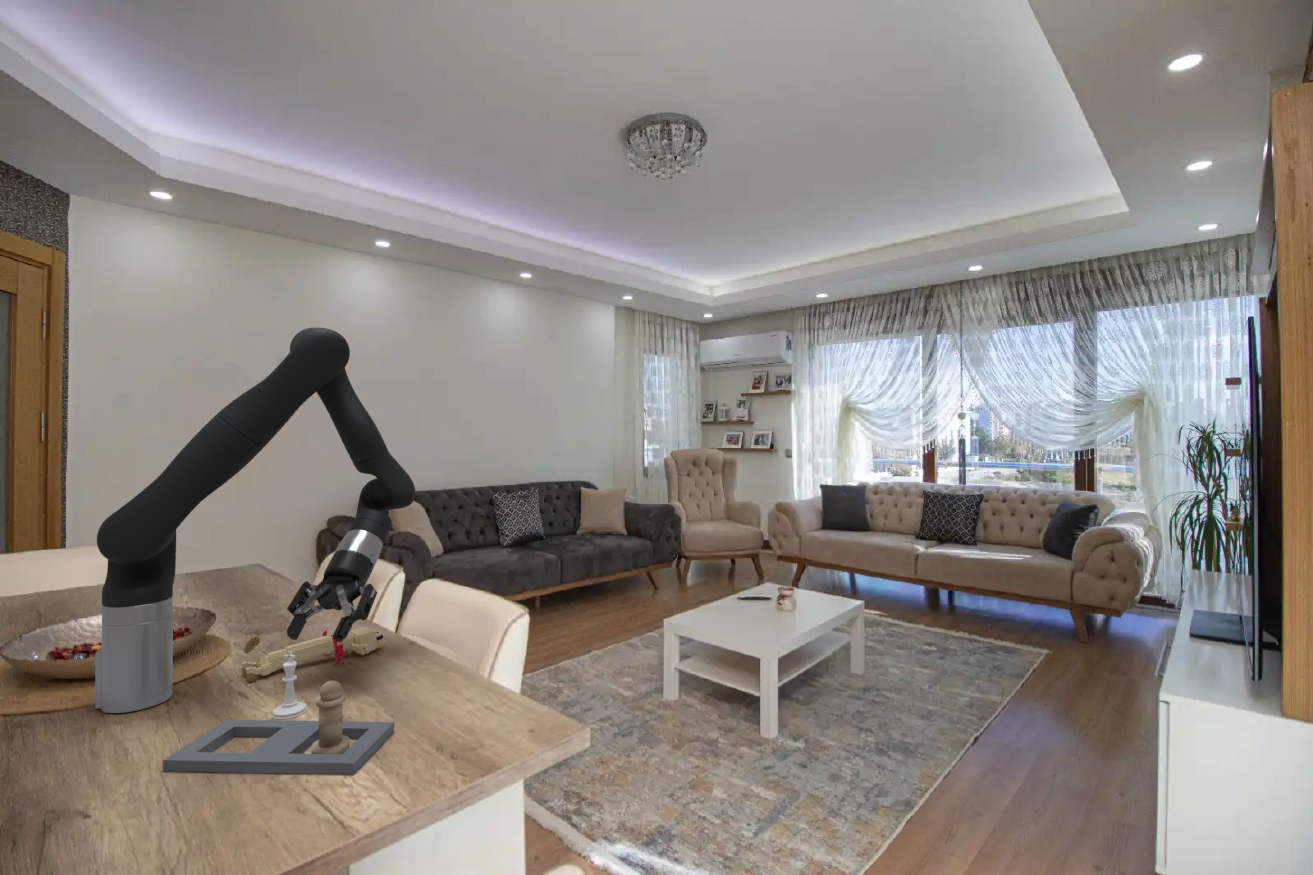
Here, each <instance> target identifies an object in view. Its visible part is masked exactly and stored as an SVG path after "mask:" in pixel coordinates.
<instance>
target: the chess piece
mask: <svg viewBox="0 0 1313 875" xmlns="http://www.w3.org/2000/svg"><path fill="white" fill-rule="evenodd" d="M284 658H288V662H286V663H284V664H283V668H282V669H283V671H284V673H285V676H283V677H282V679H281V681H282V682H286V684H285V691H284V698H283V702H281V704H280V705H278V706H276V707H275V708H273V710H272V712H271V713H272V715H271V717H272V719H273V720H274V719H275V720H289V719H293V718H297V717H299V716H302V715H304V714H305V713H306V712H307V711H308V708H307V704H306V703H305V702H302V701H298V700H297V699H296V693H295V686H294V681H295V680H297V679H298V675H296V674H294V673H295V671H296V667H297V665H298V662H295V661H292V659H294V658H295V655H292V651H288V655H287V654H286V655H284Z"/></svg>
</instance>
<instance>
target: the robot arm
mask: <svg viewBox="0 0 1313 875" xmlns="http://www.w3.org/2000/svg"><path fill="white" fill-rule="evenodd" d="M350 354H351V350H350V346H349V344H348V340H346V338H345V337H344V336H343V335H342V334H341V333H339V332H337V331H335V330H333V329H330V328H326V327H309V328H304V329H301V330H300V331H298V332H297V333H296V334H295V335H294V336H293V337H292V339H291V342H290V345H289V353H288V354H287V355H286V357H284V358H283V359H282V361H281V362H280V363H279V364H278V365H277V366H276V368H275V369H274V370H272V372H271V373H270V374H269V375H267V376H266V377H265V378H264V379H262V381H261V380H260V382H259V383H257V384H255V385H254V386H253V387H251V388H249V389H248V390H246V391H245V392H243V393H242V394H240V395H239V396H237V397H236V398H235V399H233V400H232V401H230V402H229V403H228V404H227V405H225V406H224V407H223V408H222V409H221V410H220V411H218V412H217V413H216V414H215V415H214V416H213V417H212V418H211V419H210V420H209V421H207V423H206V424H204V426H203V427H202V428H201V429H199V431H198V432H197V433H196V434H195V435H194V436H193V437H192V438H191V439H190V440H189V442H188V443H187V444H185V445H184V446H183V448H182V449H181V450H180V451H179V452H178V453H177V454H176V456H175V457H174V458H173V459H172V461H171V462H170V463H169V464H168V465H167V466H166V468H165V469H164V470H163V471H162V472H161V473H160V475H158V476H157V477H156V478H155V479H154V480H153V481H152V482H151V483H150V484H148V485H147V486H146V487H145V488H144V489H142V490H141V491H140V492H139V493H137V495H135V496H134V497H133V498H131V499H130V500H129V501H128V502H126V503H125V504H123V505H122V506H121V507H120V508H118V509H117V510H116V511H114V512H113V513H111V514H110V515H109V516H107V517H106V518H105V520H103V522H102V523H101V525H100V526H99V528H98V532H97V534H96V545H97V548H98V550H99V553H100V554H101V555H102V556H103V557H104V558H105V559H106V560H107V568H106V569H107V570H106V578H105V582H104V584H103V587H102V590H101V648H100V649H98V650H97V651H95V658H94V659H95V666H94V667H95V669H94V671H95V673H94V678H95V680H94V681H95V685H94V690H95V691H94V694H95V695H94V696H95V700H94V701H95V702H94V705H95V706H94V708H95V709H99V710H101V711H102V712H103V713H108V714H123V713H130V712H135V711H136V712H137V711H140V710H145V709H147V708H152V707H155V706H157V705H160V704H161V703H164V702H166V701H168V700H169V699H171V698H172V696H173V667H174V666H173V663H174V662H173V658H174V657H173V655H174V654H173V649H174V648H173V646H174V645H173V641H174V637H173V630H174V627H173V626H174V623H173V621H174V618H173V616H174V610H173V609H174V603H173V602H174V601H173V600H174V596H173V595H174V582H175V577H176V567H177V566H176V564H177V563H176V562H177V561H176V560H177V529H178V528H179V527H180V525H181V524H182V523H183V522H184V521H185V519H186V518H187V517H188V516H189V515H190V514H191V513H192V511H194V509H195V508H197V506H198V505H199V504H201V502H202V501H204V500H205V499H206V498H207V497H209V496H210V495H211V494H213V493H214V492H215V491H216V490H218V489H219V488H220V487H222V486H223V485H225V484H226V483H227V482H228V481H230V480H231V479H232V478H234V477H235V476H236V475H237V474H238V473H239V472H240V471H242V470H243V469H244V468H245V467H246V466H247V465H249V463H250V462H251V461H252V460H253V459H254V458H255V457H256V456H257V455H259V453H260V452H261V451H262V450H263V449H264V448H265V447H266V446H267V445H268V444H269V443H270V442H271V440H272V439H273V438H274V437H275V436H276V435H277V434H278V433H279V432H280V431H281V430H282V428H283V427H284V426H285V425H286V424H287V423H288V421H290V419H292V416H294V415H295V413H296V412H297V411H298V410H299V409H300V408H301V406H302V405H303V404H304V403H305V402H306V401H308V399H310V398H311V397H312V396H313V395H314V394H315V393H316V394H317V395H318V397H319V398H320V400H321V402H322V403H323V405H324V407H325V409H326V411H327V413H328V415H329V416H330V419H331V421H332V423H333V425H334V428H335V429H336V432H337V433H338V436H339V437H340V440H341V442H342V444H343V446H344V448H345V450H346V452H347V454H348V456H349V458H350V460H351V462H352V464H353V466H354V468H355V470H357V472H359V473H361V474H366V475H372V476H374V477H375V478H373V479H371V480H369V481H368V482H367V483H366V484H364V486H363V487H362V489H361V490H360V493H359V499H358V504H357V508H356V514H355V518H354V519H353V521H352V523H351V525H350V527H349V529H348V530H347V532H346V533H345V535H344V537H343V538H342V539H341V541H340V542H339V544H338V546H337V547H336V550H335V551H334V553H333V555H332V557H331V558H330V560H329V562H328V564H327V566H326V568H325V570H324V572H323V577H322V580H321V581H320V582H319V583H318V584H311V583H310V582H309V581H304V582H303V583H302V584H301V586H300V587H299V589H298V591H297V592H296V593H295V595H294V597H293V598H292V599H291V602H290V603H289V604H288V607H287V611H288V612H289V613H290V614H291V615H292V616H293V618H292V620H291V622H290V623H289V625H288V627H287V629H286V636H287V637H288V638H289V639H290V640H292V641H293V640H295V641H296V640H298V639H299V636H300V635H301V633H302V631H303V629H304V628H305V625H306V623H307V620H308V619H309V618H311V617H313V616H314V615H315V614H316V615H317V614H319V613H321V612H323V611H324V610H329V611H330V610H335V611H342V612H343V615H344V616H341V617H340V620H339V622H338V624H337V625H336V626H337V627H336V628H335V630H334V632H333V634H332V635H333V638H334V639H335V641H336V642H342V641H343V639H345V638H346V637H347V635H348V633H349V632H351V629H352V626H353V625H354V623H356V622H357V621H360V620H361V621H366V620H367V619H368V618H369V615H370V612H371V610H372V607H373V606H374V605H373V604H374V603H375V600H376V598H377V595H378V591H377V589H376V588H375V587H374V586H373V584H371V583H367V582H368V580H369V578H370V576H371V574H372V573H373V570H374V568H375V566H376V564H377V562H378V560H379V558H380V555H381V552H382V550H383V546H384V544H385V543H386V540H387V538H388V535H389V533H390V532H391V530H392V526H393V522H392V519H391V517H390V516H389V515H388V514H387V513H385V512H386V511H392V510H398V509H404V508H407V507H409V506H411V505H412V503H413V502H414V501H415V499H416V487H415V486H416V485H415V484H414V481H413V480H412V478H411V476H410V475H409V473H408V472H407V471H406V470H405V469H404V468H403V467H402V466H401V464H400V463H399V462H398V461H397V460H396V458H394V456H393V455H392V454H391V453H390V451H389V449H388V447H387V444H386V443H385V440H384V438H383V436H382V434H381V432H380V431H379V429H378V426H377V425H376V423H375V422H374V420H373V418H372V416H371V415H370V414H369V412H368V410H367V408H365V406H364V405H363V403H362V401H361V400H360V398H359V397H358V395H357V393H356V391H355V390H354V388H353V387H354V386H352V384H351V381H350V379H349V376H348V373H347V370H346V366H347V365H348V364H349V361H350ZM358 598H360V599H359V601H358V604H357V606H356V607H355V604H354V601H355V600H356V599H358ZM316 602H318V604H317V605H316Z"/></svg>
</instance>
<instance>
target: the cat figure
mask: <svg viewBox="0 0 1313 875" xmlns="http://www.w3.org/2000/svg"><path fill="white" fill-rule="evenodd" d="M327 631H328V630H324V631H323V632H322V635H321V636H320V637H316V638H313V639H309V640H306V641H305V640H304V641H302V642H298V643H294V644H291V645H287V646H285V647H284V648H281V649H278V650H276V651H275V650H274V651H271V652H268V653H266V654H265V653H263V651H262V652H261V651H260V650H257V649H256V646H257V647H258V646H259V644H261V642H260V640H261V639H260V637H258V636H253V637H252V636H251V637H250V639H248V641H246V643H245V646H244V647H243V652H244V654H246V655H248V656H250V657H251V658H252V657H255V658H256V659H255V662H254V661H253V662H252V661H243V662H241V673H242V677H243V678H245V679H246V682H247V684H248V683H252V682H255V676H256V675H261V676H263V677H265V676H269V675H271V673H275V672H277V670H279V669H284V668H283V664H284V663H286V662H288V658H284V655H286V654H287V655H288V651H292V655H295V658H294V659H292V661H295V662H297V663H298V662H300V661H305V660H308V659H311V658H315V657H318V656H321V655H324V656H325V655H326V656H328V655H329V654H333V653H334V658H335V659H334V663H335V664H334V665H338V663H339V662H340V661H341V660H340V659H342V657H345V656H346V651H349V650H351V651H353V652H354V653H356V654H357V655H361V656H365V654H367V655H368V654H369V653H371V652H373V651H375V650H376V649H379V648H382V645H383V643H385V642H386V640H385V639H384V635H383V634H382V633H380V632H379V631H377V630H374V629H372V628H370V627H369V626H364V627H360V628H357V629H353V630H350V631H349V633H348V635H347V637H346V638H345V639H343V641H342V642H336V641H335V639H334V638H333V634H332V635H328V632H327ZM380 641H381V642H380Z"/></svg>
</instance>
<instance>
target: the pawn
mask: <svg viewBox="0 0 1313 875" xmlns="http://www.w3.org/2000/svg"><path fill="white" fill-rule="evenodd" d="M342 687H343V686H342V685H341V683H340V682H338V681H336V680H328V681H326V682H324V684H322V685H321V687H320V690H319V695H318V696H317V697H316V698H315V706H316V707H318V721H319V739H318V740H317V741H315V742H314V743H313V744H312V745H311V746H310V747H311V753H310V754H343V753H344V752H345V751H347V750H348V749H349V748H350V738H349V737H348V736H345V735H342V721H343V703H344V702H345V701H346V692H344V691H343V692H342V690H343V689H342Z"/></svg>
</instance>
